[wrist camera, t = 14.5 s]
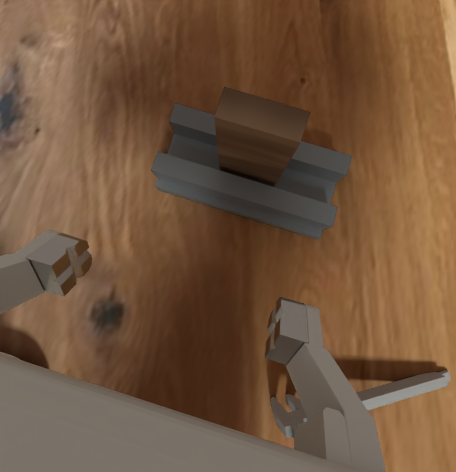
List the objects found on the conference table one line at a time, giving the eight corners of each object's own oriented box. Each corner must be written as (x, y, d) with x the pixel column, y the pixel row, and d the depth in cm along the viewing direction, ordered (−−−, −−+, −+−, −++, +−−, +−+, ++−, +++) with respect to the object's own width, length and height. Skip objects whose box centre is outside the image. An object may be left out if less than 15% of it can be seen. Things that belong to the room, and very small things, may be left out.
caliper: (270, 405, 27) (283, 449, 21) (269, 395, 27) (281, 435, 21) (447, 378, 27) (512, 413, 21) (444, 368, 27) (508, 400, 21)
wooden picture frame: (272, 189, 28) (300, 142, 17) (220, 173, 28) (214, 116, 17) (278, 168, 28) (310, 109, 17) (226, 152, 28) (225, 84, 17)
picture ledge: (315, 239, 29) (330, 235, 25) (158, 189, 29) (147, 178, 25) (337, 162, 30) (354, 147, 26) (185, 116, 30) (178, 94, 26)
